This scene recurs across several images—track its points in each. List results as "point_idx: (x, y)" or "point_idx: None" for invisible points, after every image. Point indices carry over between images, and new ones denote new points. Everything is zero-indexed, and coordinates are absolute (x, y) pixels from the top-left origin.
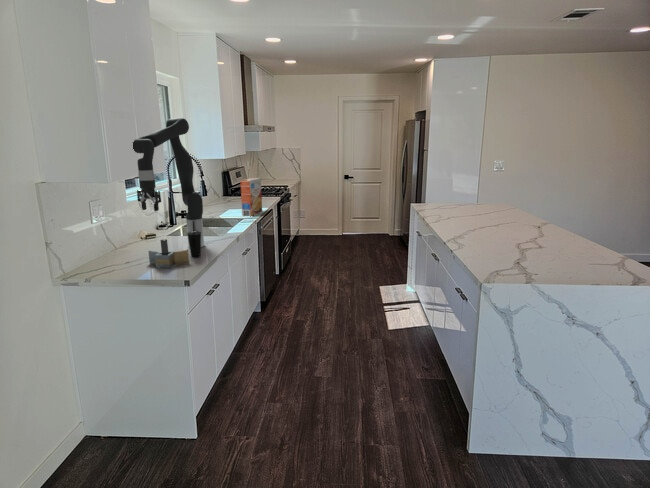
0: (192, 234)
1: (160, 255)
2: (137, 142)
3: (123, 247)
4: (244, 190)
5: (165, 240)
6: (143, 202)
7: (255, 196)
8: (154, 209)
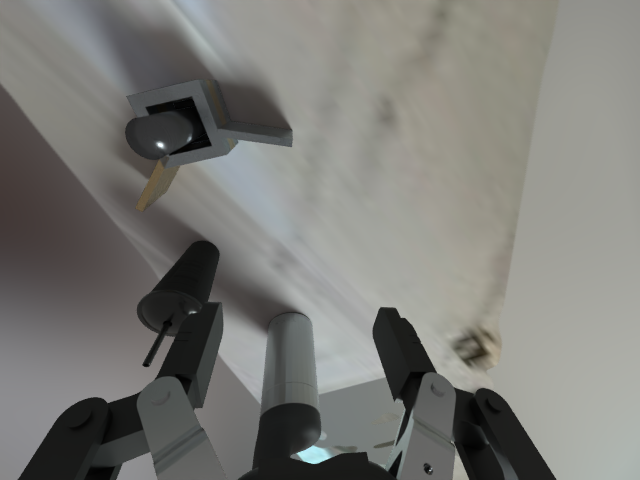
0: (149, 294)
1: (170, 86)
2: None
3: (498, 259)
4: None
5: (126, 132)
6: (410, 388)
7: None
8: (209, 311)
